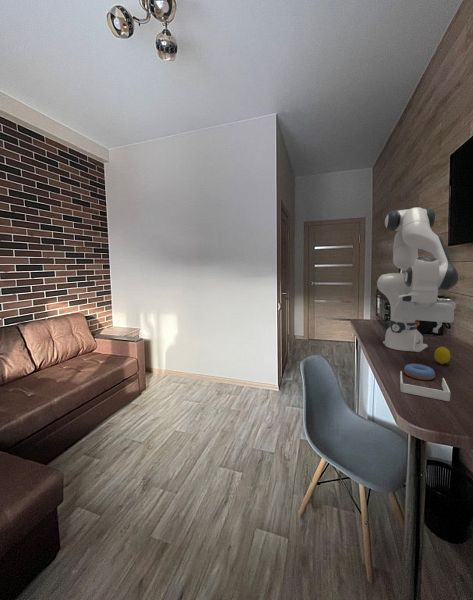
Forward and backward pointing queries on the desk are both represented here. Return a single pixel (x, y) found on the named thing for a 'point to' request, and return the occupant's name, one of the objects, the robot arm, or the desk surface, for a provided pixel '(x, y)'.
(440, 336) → the desk surface
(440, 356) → the lemon
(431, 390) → the box
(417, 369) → the doughnut
